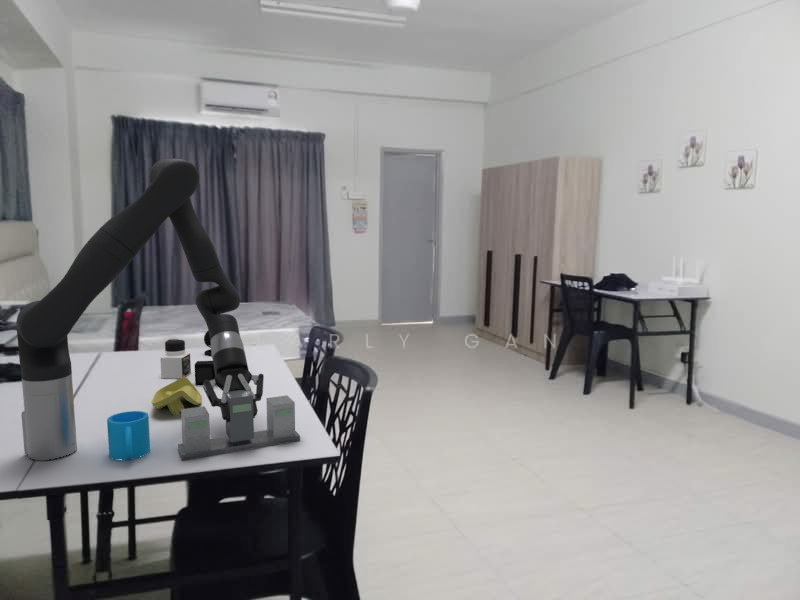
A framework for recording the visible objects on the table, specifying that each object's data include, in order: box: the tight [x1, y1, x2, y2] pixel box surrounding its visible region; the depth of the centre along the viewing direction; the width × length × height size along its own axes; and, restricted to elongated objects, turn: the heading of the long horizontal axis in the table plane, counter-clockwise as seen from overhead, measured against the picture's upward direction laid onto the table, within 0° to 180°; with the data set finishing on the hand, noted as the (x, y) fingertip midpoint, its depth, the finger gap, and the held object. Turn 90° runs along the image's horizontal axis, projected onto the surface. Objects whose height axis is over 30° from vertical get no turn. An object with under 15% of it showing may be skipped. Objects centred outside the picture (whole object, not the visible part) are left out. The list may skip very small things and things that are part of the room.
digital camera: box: [194, 360, 216, 386], centre depth 181 cm, size 10×5×7 cm, turn 97°
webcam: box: [203, 330, 212, 357], centre depth 222 cm, size 8×8×10 cm
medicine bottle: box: [159, 338, 192, 379], centre depth 190 cm, size 7×7×12 cm
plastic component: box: [151, 376, 202, 416], centre depth 159 cm, size 20×7×10 cm
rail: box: [177, 395, 301, 461], centre depth 132 cm, size 26×7×9 cm, turn 117°
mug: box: [106, 410, 151, 461], centre depth 125 cm, size 12×8×8 cm
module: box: [225, 389, 255, 442], centre depth 132 cm, size 5×6×10 cm
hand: (241, 418), depth 130 cm, fingers closed on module, 5 cm apart
